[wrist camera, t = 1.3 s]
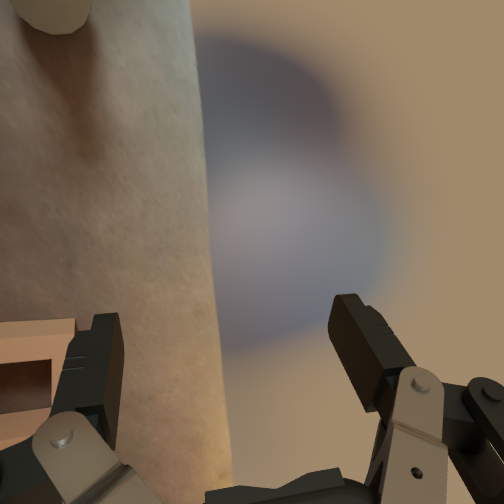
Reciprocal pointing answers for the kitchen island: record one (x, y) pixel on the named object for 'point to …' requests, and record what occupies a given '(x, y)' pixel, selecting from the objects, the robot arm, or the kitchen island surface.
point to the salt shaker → (53, 14)
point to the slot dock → (30, 349)
